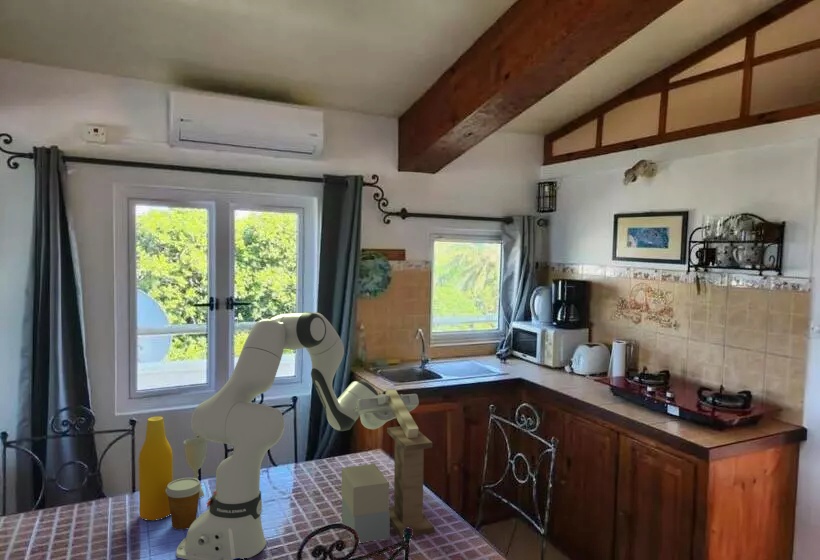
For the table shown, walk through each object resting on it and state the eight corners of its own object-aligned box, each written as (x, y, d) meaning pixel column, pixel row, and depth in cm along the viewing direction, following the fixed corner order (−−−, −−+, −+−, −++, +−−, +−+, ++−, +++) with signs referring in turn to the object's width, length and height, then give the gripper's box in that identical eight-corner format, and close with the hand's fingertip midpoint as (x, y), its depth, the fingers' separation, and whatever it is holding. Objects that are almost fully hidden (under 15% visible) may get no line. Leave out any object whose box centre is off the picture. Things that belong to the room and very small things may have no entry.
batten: (385, 397, 177) (385, 389, 176) (393, 396, 178) (394, 388, 177) (407, 438, 157) (408, 429, 156) (417, 437, 158) (418, 428, 157)
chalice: (182, 501, 173) (182, 445, 172) (185, 492, 179) (184, 438, 178) (207, 499, 175) (207, 443, 174) (209, 490, 181) (208, 436, 180)
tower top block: (341, 494, 162) (341, 467, 161) (374, 489, 165) (374, 463, 165) (353, 516, 148) (353, 487, 148) (388, 510, 152) (388, 482, 151)
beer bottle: (138, 524, 158) (136, 425, 157) (140, 510, 167) (139, 415, 165) (173, 518, 162) (172, 421, 160) (173, 505, 170) (172, 412, 169)
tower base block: (341, 521, 162) (342, 494, 161) (374, 515, 166) (374, 489, 165) (354, 545, 149) (354, 516, 148) (389, 538, 152) (389, 510, 152)
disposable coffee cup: (204, 527, 157) (204, 486, 156) (168, 536, 152) (168, 493, 151) (198, 513, 165) (197, 474, 165) (163, 521, 160) (163, 481, 159)
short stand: (383, 512, 167) (384, 428, 166) (414, 507, 171) (415, 424, 170) (401, 538, 152) (402, 446, 151) (434, 532, 156) (435, 442, 155)
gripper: (350, 401, 182) (360, 390, 170) (408, 396, 189) (422, 385, 178) (353, 420, 179) (363, 410, 168) (411, 414, 187) (425, 404, 175)
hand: (394, 397), depth 173 cm, fingers closed on batten, 3 cm apart
